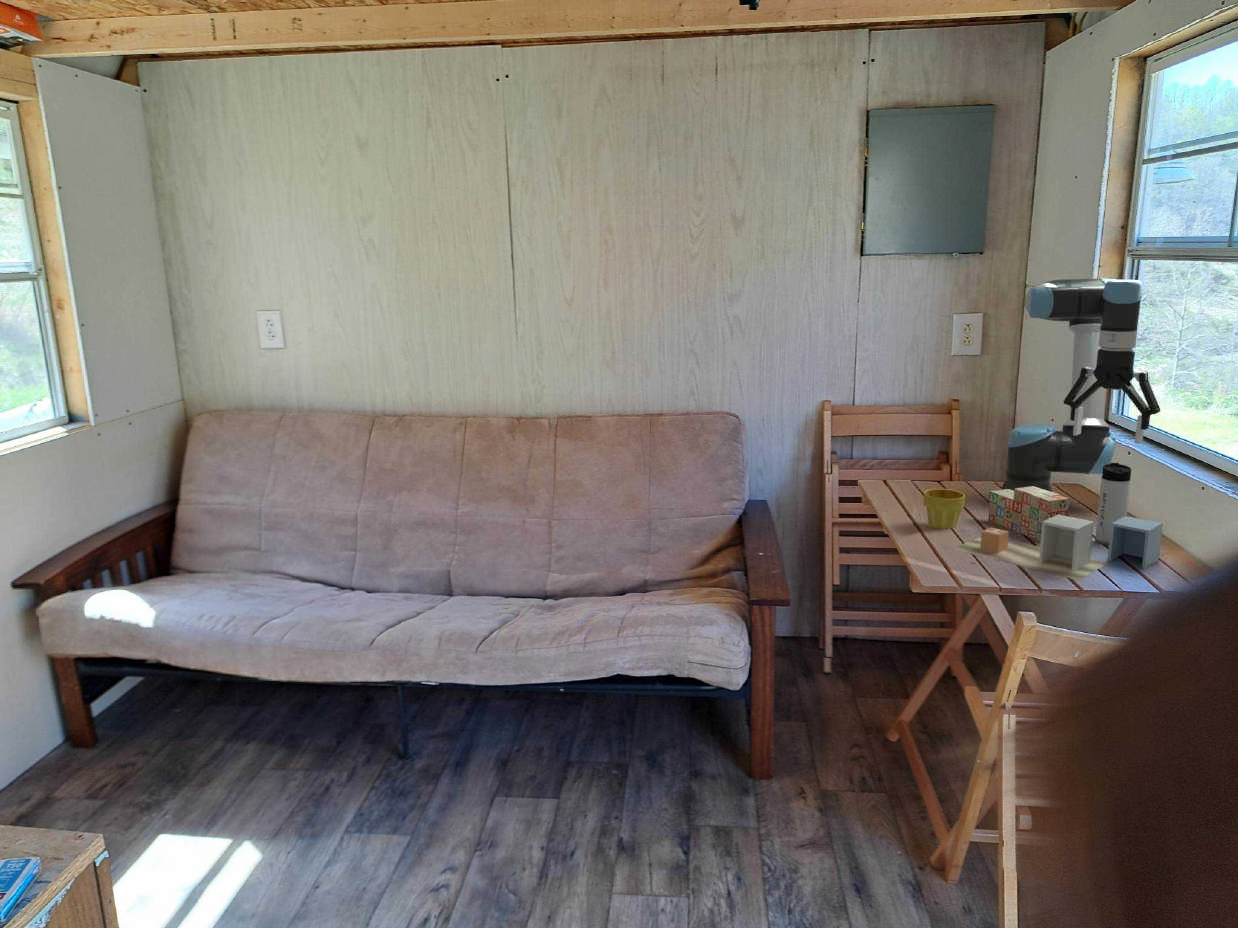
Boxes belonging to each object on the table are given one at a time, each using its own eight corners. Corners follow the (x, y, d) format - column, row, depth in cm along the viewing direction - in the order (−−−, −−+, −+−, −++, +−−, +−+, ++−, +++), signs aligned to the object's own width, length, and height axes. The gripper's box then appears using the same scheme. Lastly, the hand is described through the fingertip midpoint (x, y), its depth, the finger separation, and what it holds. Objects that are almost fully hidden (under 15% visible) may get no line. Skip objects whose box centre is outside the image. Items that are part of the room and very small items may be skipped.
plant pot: (966, 535, 229) (968, 499, 227) (924, 533, 232) (926, 497, 229) (959, 523, 239) (961, 488, 237) (919, 522, 241) (921, 487, 239)
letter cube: (989, 544, 218) (991, 526, 217) (1007, 548, 215) (1008, 530, 214) (980, 548, 216) (981, 530, 215) (998, 553, 212) (999, 534, 211)
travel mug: (1120, 539, 222) (1128, 463, 218) (1125, 548, 216) (1134, 469, 212) (1092, 538, 224) (1100, 461, 220) (1097, 546, 218) (1105, 467, 214)
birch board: (985, 538, 226) (985, 534, 226) (1108, 566, 204) (1108, 562, 204) (952, 552, 217) (952, 548, 216) (1077, 584, 194) (1078, 580, 194)
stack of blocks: (987, 523, 239) (990, 480, 236) (1006, 521, 240) (1009, 477, 238) (1044, 547, 219) (1048, 499, 216) (1065, 544, 220) (1069, 497, 218)
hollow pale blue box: (1121, 556, 211) (1125, 516, 208) (1158, 564, 205) (1162, 523, 202) (1107, 563, 206) (1111, 523, 204) (1144, 572, 200) (1149, 530, 198)
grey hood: (1054, 554, 210) (1058, 514, 208) (1089, 562, 204) (1093, 521, 202) (1038, 562, 205) (1042, 521, 203) (1074, 571, 199) (1078, 529, 197)
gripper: (1053, 346, 209) (1046, 433, 214) (1171, 354, 191) (1160, 449, 196) (1067, 343, 213) (1059, 428, 219) (1183, 350, 195) (1171, 443, 201)
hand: (1106, 438), depth 207 cm, fingers open, 13 cm apart
